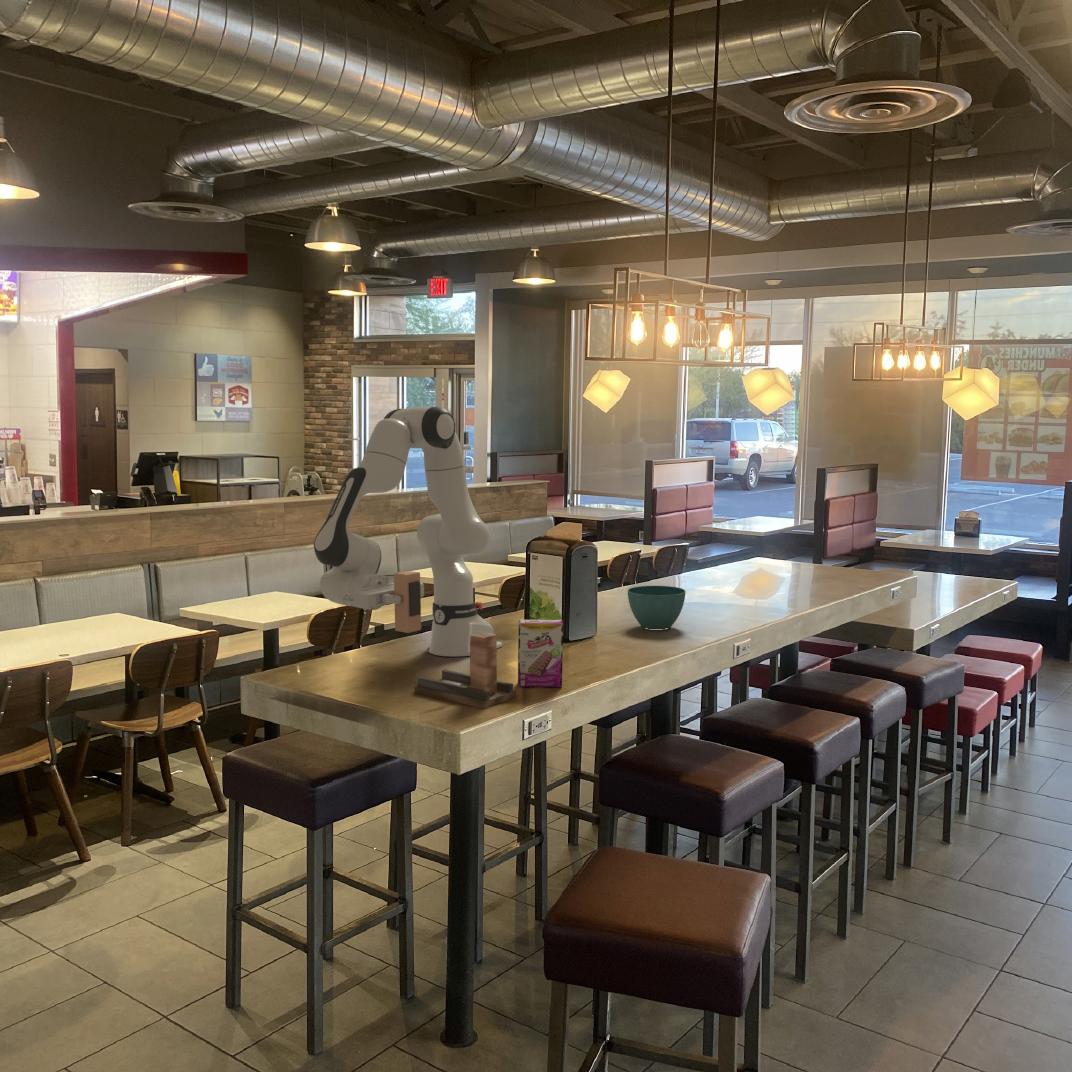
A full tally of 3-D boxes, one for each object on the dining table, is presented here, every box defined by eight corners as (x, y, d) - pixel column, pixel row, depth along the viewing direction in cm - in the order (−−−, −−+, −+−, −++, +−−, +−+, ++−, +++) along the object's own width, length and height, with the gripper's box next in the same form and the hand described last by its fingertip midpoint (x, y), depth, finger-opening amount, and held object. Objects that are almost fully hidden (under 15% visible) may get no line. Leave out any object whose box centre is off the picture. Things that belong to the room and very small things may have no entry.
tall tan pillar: (408, 627, 248) (407, 570, 246) (422, 630, 245) (421, 572, 243) (395, 630, 245) (393, 573, 243) (409, 633, 241) (408, 575, 240)
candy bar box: (517, 688, 251) (517, 623, 249) (517, 683, 256) (517, 619, 254) (563, 688, 251) (563, 622, 249) (562, 683, 256) (562, 618, 254)
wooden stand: (448, 682, 256) (447, 622, 254) (516, 697, 243) (515, 633, 241) (414, 692, 247) (413, 629, 245) (483, 708, 233) (482, 642, 231)
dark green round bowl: (666, 636, 310) (667, 597, 309) (616, 629, 321) (616, 591, 320) (695, 627, 325) (695, 589, 323) (645, 620, 336) (646, 583, 334)
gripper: (338, 585, 243) (377, 591, 235) (400, 573, 259) (439, 579, 251) (338, 610, 244) (378, 617, 236) (400, 598, 260) (439, 604, 252)
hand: (410, 597), depth 243 cm, fingers closed on tall tan pillar, 4 cm apart
